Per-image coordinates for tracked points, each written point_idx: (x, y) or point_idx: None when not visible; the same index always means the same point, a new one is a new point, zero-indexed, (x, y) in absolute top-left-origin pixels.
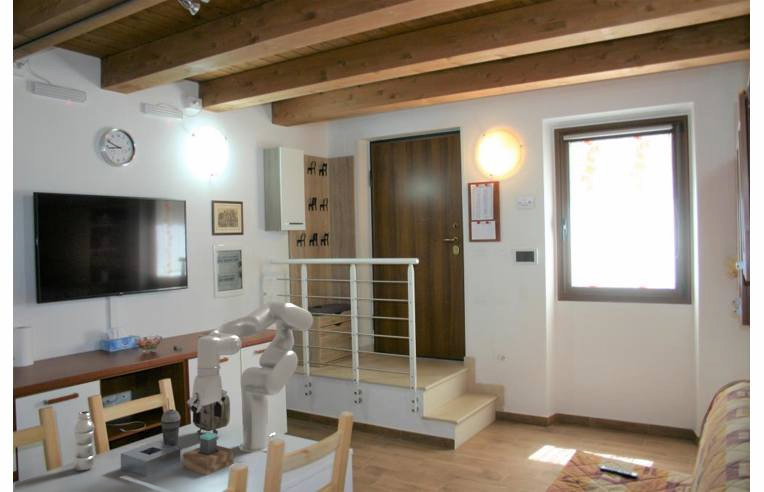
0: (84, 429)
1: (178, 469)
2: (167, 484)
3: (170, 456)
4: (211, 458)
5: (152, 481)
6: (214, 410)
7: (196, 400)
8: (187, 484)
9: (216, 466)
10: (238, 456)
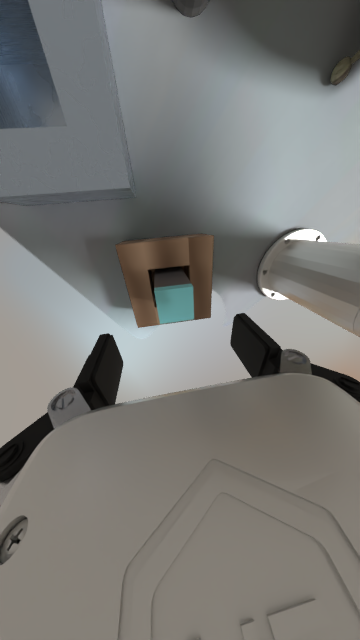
0: None
1: (119, 222)
2: (68, 278)
3: (91, 193)
4: (150, 325)
5: (39, 234)
6: (247, 332)
7: (89, 463)
8: (101, 306)
9: None
10: (242, 272)
